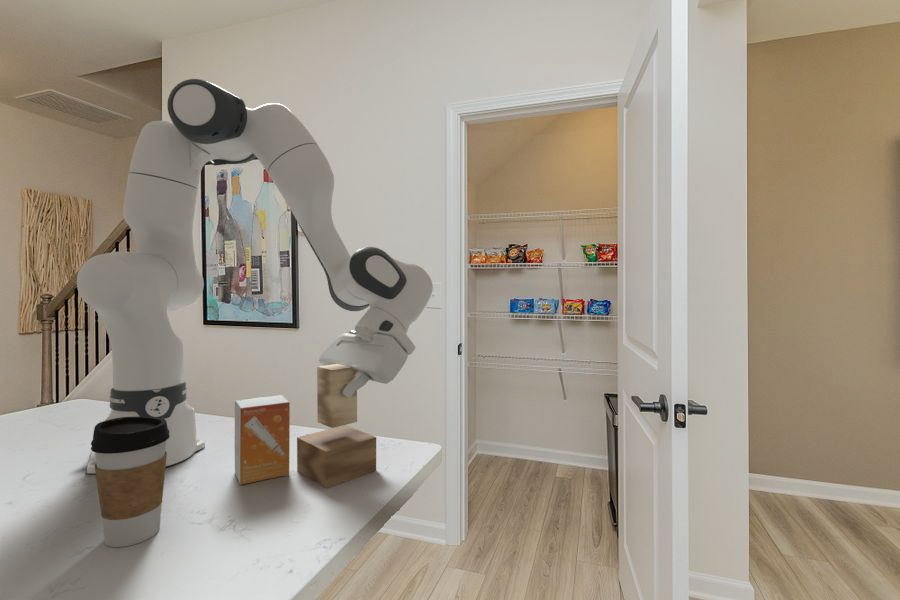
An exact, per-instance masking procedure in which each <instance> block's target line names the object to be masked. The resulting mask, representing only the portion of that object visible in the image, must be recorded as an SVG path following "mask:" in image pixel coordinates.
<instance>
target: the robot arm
mask: <svg viewBox="0 0 900 600" xmlns="http://www.w3.org/2000/svg"><path fill="white" fill-rule="evenodd" d="M168 95H169V96H168V99H167V111H168V116H169V118H170V120H171V121H169V120H153V121H150V122H148V123H147V124H145V125H144V126H143V127H142V128H141V131H140V134H139V136H138V139H137V141H136V142H135V145H134V149H133V153H132V157H131V160H130V165H129V169H128V175H127V181H126V182H127V183H126V189H125V194H124V201H123V207H122V216H123V220H124V221H125V223H126V224H127V225H128V227H129V228H130V230H131V231H132V235H133V239H134V245H135V252H133V251H123V250H121V251H115V252H114V251H113V252H106V253H102V254H97V255H95V256H92V257H90V258H88V259H87V260H85V262H84V263H83V264H82V265H81V266H80V268H79V270H78V273H77V276H76V286H77V288H76V289H77V291H78V293H79V296H80V298H81V299H82V300H83V302H84V303H85V304H87V305H88V306H89V307H90V308H92V309H93V310H94V311H95V312H96V313H97V315H98V316H99V318H100V320H101V322H102V323H103V326H104V328H105V331H106V333H107V335H108V340H109V342H110V346H111V357H112V358H111V359H112V362H111V363H112V382H113V383H112V385H113V387H112V388H111V389H110V392H109V393H110V394H109V409H110V411H109V413H108V415H107V417H106V418H105V419H104V421H106V420H110V419H114V418H120V417H156V418H162V419H165V420H166V422H167V427H168V430H169V432H170V433H169V435H170V437H169V439H167V440H166V448H165V451H166V452H167V457H166V467H168V466H172V465H175V464H178V463H180V462H182V461H185V460H187V459H188V458H190V457H192V455H193V454H195V453H196V452H197V451H199V450H202V449H203V448H205V447H206V444H205V441H204V440H201V439H198V438H197V423H196V411H195V408H194V407H192V406H191V405H189V404H188V403H187V401H186V400H187V393H188V390H187V389H188V387H187V382H186V381H185V380H184V344H183V341H182V340H181V338H180V337H179V336H177V335H176V333H175V332H174V330H173V329H172V325H171V323H170V322H171V321H170V320H169V316H168V312H169V311H170V312H171V311H176V310H177V311H178V310H179V309H182V308H185V307H186V306H189V305H191V304H194V303H195V302H197V300H199V298H200V297H201V295H202V294H203V291H204V286H205V283H204V277H203V275H202V272H201V271H200V270H199V268H198V266H197V262H196V256H195V249H194V248H195V247H194V241H193V240H194V239H193V236H194V235H193V229H194V227H193V225H194V218H195V217H194V216H195V210H196V204H197V199H198V198H197V197H198V190H199V185H200V184H199V183H200V178H201V177H200V176H201V172H202V170H203V167H204V166H205V165H206V164H207V163H209V164H211V166H222V165H223V166H224V165H242V164H247V163H250V162H251V161H253V160H254V159H256V158H257V160H258V161H259V162H260V164H261V165H262V166H263V168H264V170H265V171H266V173H267V174H268V176H269V178H270V179H271V180H272V182H273V183H274V185H275V186H276V188H277V190H278V191H279V193H280V194H281V197H283V199H284V201H285V202H286V204H287V205H288V207H289V209H290V212H291V213H292V216H293V217H294V218H295V219H296V221H297V223H298V226H299V228H300V229H301V232H302V233H303V235H304V238H305V239H306V241H307V244H309V247H310V248H311V249H312V251H313V253H314V255H315V256H316V258H317V260H318V262H319V264H320V266H321V267H322V269H323V271H324V273H325V276H326V281H327V286H328V291H329V294H330V297H331V299H332V300H333V302H334V303H335V304H336V305H337V306H338V307H340V308H341V309H343V310H346V311H348V312H360V311H363V310H366V309H367V308H368V309H367V310H366V312H365V313H364V315H363V316H362V317H360V319H359V321H358V322H357V323H356V325H355V326H354V330H349V332H346V333H345V332H344V333H341V334H339V335H338V336H337V337H336V338H334V340H332V342H330V344H328V346H327V347H326V348H325V349H324V350H323V351H322V352H321V354H320V356H319V358H318V362H319V363H320V364H321V366H325V365H332V364H341V365H345V366H350V367H352V368H353V369H354V370H357V373H356V374H355V375H354V376H355V378H354V379H353V380H351V381H350V382H349V383H348V384H344V385H343V387H342V388H341V389H340V394H341V395H342V396H343V397H346V398H351V396H352V395H353V394H354V392H355V391H357V392H358V390H360V389H361V388H363V387H364V386H365V385H367V383H368V381H371V382H374V383H375V382H376V383H381V384H385V385H386V384H389V383H390V382H391V381H394V379H395V378H396V377H397V375H398V374H399V372H400V371H402V368H403V367H404V365H405V364H406V362H407V360H408V356H409V355H412V354H413V353H414V351H415V350H416V345H415V343H414V342H413V341H412V340H411V338H410V337H409V336H408V335H407V334H408V331H409V328H410V326H411V325H412V324H413V323H414V322H415V321H416V320H418V318H419V316H420V315H421V314H422V313H423V311H424V309H425V307H426V306H427V304H428V303H429V301H430V299H431V296H432V293H433V288H434V287H433V286H434V285H433V281H432V278H431V276H430V275H429V274H428V272H427V271H426V270H425V269H424V268H422V267H421V266H420V265H418V264H414V263H407V262H403V261H400V260H398V259H395V258H393V257H391V256H390V255H389V253H387V252H385V251H384V250H383V249H381V248H379V247H376V246H364V247H361V248H359V249H357V250H356V251H355V252H354V253H353V254H352V255H350V253H349V251H348V249H347V248H346V245H345V244H344V242H343V240H342V238H341V236H340V235H339V233H338V231H337V229H336V226H335V224H334V222H333V221H334V220H333V215H332V203H333V201H332V200H333V194H334V188H335V175H334V173H333V170H332V167H331V166H330V163H329V160H328V159H327V157H326V155H325V154H324V152H323V150H322V149H321V148H320V146H319V144H318V143H317V141H316V140H315V138H314V136H312V135H311V132H310V131H309V130H308V129H307V128H306V126H305V125H304V124H303V123H302V122H301V120H300V119H299V118H298V117H297V116H296V115H295V114H294V113H293V112H292V111H291V110H290V109H289V108H288V107H286V106H285V105H284V104H280V103H276V102H275V103H273V102H271V103H266V104H262V105H260V106H258V107H256V108H253V109H252V108H248V107H246V103H245V101H244V100H243V99H242V98H240V97H239V96H236V95H235V94H233V93H231V92H229V91H228V90H226V89H224V88H222V87H220V86H219V85H216V84H214V83H213V82H209V81H206V80H204V79H199V78H190V79H185V80H183V81H181V82H179V83H178V84H176V85H175V86H174V87H173V88H172V90H171V91H170V93H169V94H168ZM95 464H96V456H95V452H93V451H91V455H90V458H89V461H88V464H87V467H86V473H87V474H96V473H95Z"/></svg>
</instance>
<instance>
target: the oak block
mask: <svg viewBox="0 0 900 600" xmlns="http://www.w3.org/2000/svg"><path fill="white" fill-rule="evenodd" d="M356 373H357V370H354V369H353V368H352V367H350V366H345V365H341V364H332V365H325V366H323V365H320V366H318V365H317V366H316V375H317V376H316V381H317V382H316V384H317V385H316V387H317V388H316V390H317V391H316V392H317V394H316V395H317V400H316V402H317V405H316V406H317V423H319V424H321V425H324V426H326V427H328V428H330V429H332V428H336V427H340V426H344V425H346V426H348V425H350V424H354V423H355V424H356V423H357V422H358V390H357V391H355V392H354V394H353V395H352V396H351V398H346V397H343V396H342V395H341V394H340V389H341V388H342V387H343V385H344V384H348V383H349V382H350V381H351V380H353V379H354V378H355V376H354V375H355V374H356Z"/></svg>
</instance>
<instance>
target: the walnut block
mask: <svg viewBox="0 0 900 600" xmlns="http://www.w3.org/2000/svg"><path fill="white" fill-rule="evenodd" d="M296 465H297V466H296V469H297V470H296V471H297V472H299V473H301V474H302V475H303V476H305V477H307V478H308V479H310V480H312V481H313V482H316V483H317V484H319V485H320V486H322V487H323V488H325V489H328V488H330V487H334V486H336V485H339V484H342V483H345V482H347V481H350V480H353V479H356V478H359V477H361V476H364V475H367V474H370V473H373V472H375V471H377V436H374V435H373V434H369V433H367V432H364V431H361V430H359V429H356V428H353V427H351V426H348V425H343V426H339V427H335V428H329V429H326V430H320V431H317V432H313V433H310V434H305V435H300V436H298V437H296Z"/></svg>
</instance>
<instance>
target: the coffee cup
mask: <svg viewBox="0 0 900 600" xmlns="http://www.w3.org/2000/svg"><path fill="white" fill-rule="evenodd" d="M169 433H170V432H169V430H168V427H167V422H166V420H165V419H162V418H156V417H120V418H114V419H110V420H106V421H105V420H103V421H100V422H98V423H97V424H96V425H94V428H93V433H92V434H93V435H92V439H91V442H90V445H91V447H90V451H91V452H92V451H93V452H95V456H96V464H95V473H94V474H95V478H96V487H97V493H98V501H99V508H100V515H101V518H102V519H101V520H102V529H103V531H102V532H103V538H104V542H105V545H106V546H107V547H111V548H125V547H129V546H133V545H137V544H140V543H142V542H145V541H146V540H148V539H150V538H153V537H154V536H155V535H157V534H158V532H159V530H160V528H161V518H162V517H161V515H162V503H163V495H164V486H165V475H166V467H167V466H166V457H167V452H166V451H165V448H166V440H167V439H169V437H170V435H169Z"/></svg>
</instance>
